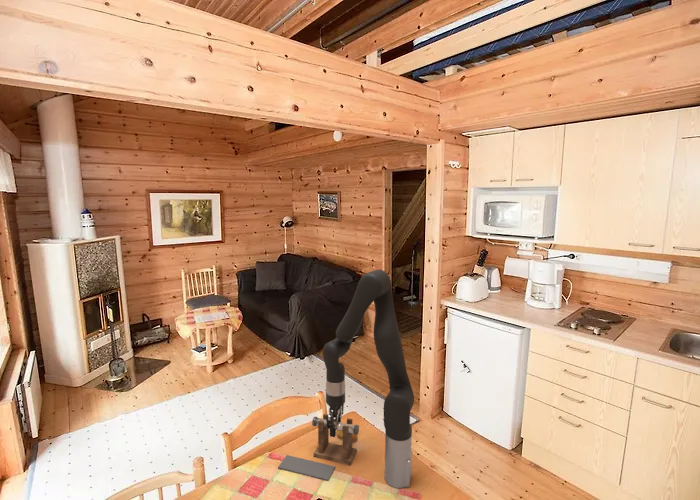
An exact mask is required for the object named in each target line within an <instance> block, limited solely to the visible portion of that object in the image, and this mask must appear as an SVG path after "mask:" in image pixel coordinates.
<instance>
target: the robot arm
mask: <svg viewBox="0 0 700 500" xmlns="http://www.w3.org/2000/svg"><path fill="white" fill-rule="evenodd" d="M372 303H374V311H375V312H374V323H373V340H374V345H375V350H376V354H377V356H378V358H379V360H380V362H381V364H382V365H383V367H384V369H385V372H386V374H387V379H388V385H389V392H388V394H387V395H386V396H385V398H384V400H383V426H384V429H385V437H384V438H385V439H384V440H385V441H384V443H385V445H384V480H385V482H386V483H387V485H389V486H391V487H392V488H394V489H395V488H396V489H397V488H398V489H403V488H410V485H411V479H412V473H413V471H412V470H413V469H412V468H413V466H412V465H413V451H412V439H413V435H412V434H413V433H412V432H413V427H412V425H411V411H412V409H413V407H414V405H415V395H414V391H413V387H412V384H411V381H410V379H409V375H408V372H407V371H408V370H407V366H406V359H405V356H404V351H403V344H402V343H403V342H402V337H401V334H400V330H399V326H398V320H397V315H396V311H395V306H394V297H393V287H392V280H391V277H390V275H389V274H388V273H387V272H386V271H385V270H383V269H374V270H372V271H368V272H366V273H365V274H363V275H362V276H361V278H360V279H359V282H358V284H357V287H356V289H355V292H354V295H353V298H352V300H351V302H350V304H349V307H348V309H347V311H346V312H345V315H344V316H343V318H342V319H341V321H340V323H339V325H338V326H337V328H336V330H335V336H336V337H335V338H334V339H332V340H330V341H328V342H327V343H325V344H324V346H323V348H322V357H323V362H324V365H325V369H326V371H325V372H326V373H325V374H326V375H325V376H326V381H325V403H326V404H327V405H328V406H329V409H328V415H326V421H327V428H328V429H329V436H330V437H331V438H336V436H337V433H336V431H337V430H336V422H342V417H343V415H344V408H345V407H344V406H345V403H346V382H345V381H346V376H345V375H346V373H345V372H346V370H345V365H344V364H343V363H342V362H339V360H340V358H342V357H343V356H345V355H346V354H347V353H348V351H349V350H350V348H351V345H352V342H353V339H354V337H356V334H357V333H358V332H359V329H360V328H361V326H362V324H363V320H364V318H365V317H364V316H365V313H366V312H367V310H368V309H369V307H370V306H371V305H372Z"/></svg>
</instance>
